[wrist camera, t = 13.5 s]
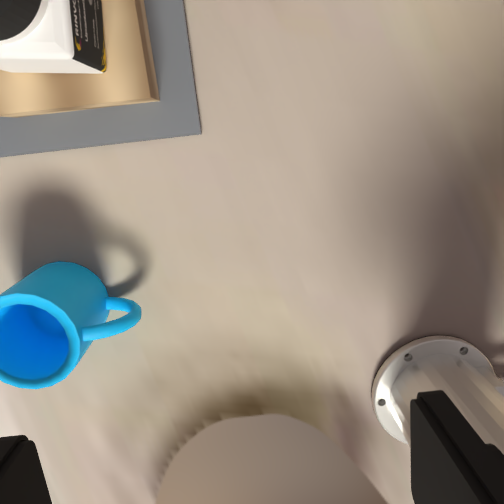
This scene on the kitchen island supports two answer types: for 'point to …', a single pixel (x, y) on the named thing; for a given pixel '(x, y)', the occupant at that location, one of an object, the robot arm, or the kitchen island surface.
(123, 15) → the oak block
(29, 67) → the medicine bottle
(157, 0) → the grey square mat
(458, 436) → the robot arm
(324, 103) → the kitchen island surface
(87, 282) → the mug
